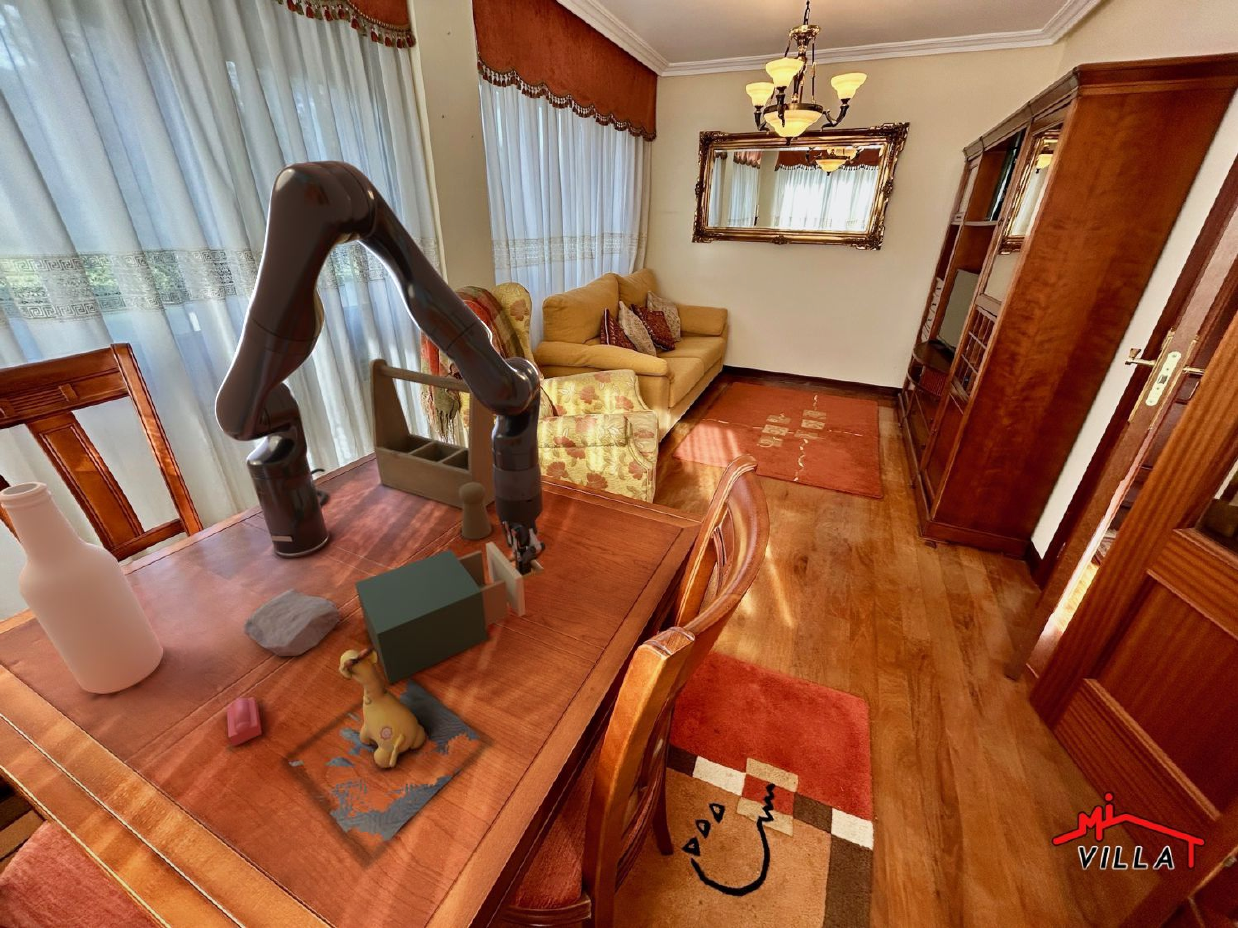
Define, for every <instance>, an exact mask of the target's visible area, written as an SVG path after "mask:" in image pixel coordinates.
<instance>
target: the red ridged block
mask: <svg viewBox="0 0 1238 928" xmlns="http://www.w3.org/2000/svg"><path fill="white" fill-rule="evenodd" d="M226 718H227V732H228V733H227V735H228V739H229V741H230V744H231V745H232V747H237V746H239V745H241V744H243V743H245V742H248V741H249V740H252V739H254V738H256V737H258V736H261V735H262V725H261V718H260V711H259V705H258V702H257V700H256V698H255V696H251V697H249V698H246V697H239V698H237V699H235V700H234V702H233V703H232V705H230V706H227V707H226Z"/></svg>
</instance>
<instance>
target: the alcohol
mask: <svg viewBox="0 0 1238 928" xmlns="http://www.w3.org/2000/svg"><path fill="white" fill-rule="evenodd" d="M52 496H53V495H52V492H51V491H50V490H48V485H47V484H46V483H44V482H40V481H29V482H23V483H18V484H14V485H11V486H8V487H6V488H4V489H2V490H1V491H0V506H1V508H2V509H3V510H5V511H6V513H7V516H8V518H9V520H10V522H11V524H12V527H13V529H14V531H15V534H16V535H17V537H18V539H19V543H20V544H21V546H22V549H23V551H24V553H25V555H26V563H25V564H24V566H23V568H22V570H21V571H20V574H19V575H18V578H17V581H18V582H17V583H18V588H19V593H20V595H21V597H22V598H23V599H24V602H25V603H26V605H27V606H28V608H29V609H30V611H31V612H32V614H33V615H34V617H35V619H36V620H37V621H38V623H39V625H40V626H41V627H42V629H43V631H44V632H45V634H46V635H47V638H49V640H50V641H51V643H52V645H53V646H54V647H55V649H56V652H58V654H59V655H60V657H61V659H62V660H63V662H64V663H65V665H66V666H67V668H68V669H69V671H70V672H71V674H72V676H73V677H74V679H75V680H76V682H77V683H78V685H79V686H80V688H81V689H82V690H83V691H86V692H89V693H94V694H98V695H102V694H103V695H104V694H105V695H106V694H113V693H117V692H121V691H123V690H125V689H128V688H130V687H132V686H134V685H136V684H138V683H140V682H141V681H143V680H145V679H146V678H147V677H148V676H150V675H151V674H152V673H153V672H154V671H156V669H157V668H158V666H159V665H160V663H161V660H162V658H163V655H164V649H163V646H162V644H161V642H160V640H159V639H158V636H157V635H156V632H155V631H154V629H153V627H152V624H151V623H150V620H149V619H148V617H147V615H146V614H145V612H144V609H143V607H142V606H141V604H140V602H139V600H138V598H137V596H136V594H135V592H134V589H133V588H132V586H131V584H130V582H129V581H128V578H127V577H126V575H125V573H124V571H123V569H122V567H121V565H120V562H119V561H118V559H117V558H116V557H115V556H114V555H113V554H112V553H111V552H110V551H109V550H108V549H106V548H104V547H102V546H100V545H98V544H97V545H96V544H94V543H90V542H86V541H85V540H83V539H82V538H81V537H80V536H79V535H78V533H77V531H76V530H75V528H74V527H73V526H72V524H71V523H70V521H69V520H68V519H67V517H66V516H65V514H64V513H63V512H62V511H61V509H60V507H59V506H58V505H57V503H56V502H55V499H53V497H52Z"/></svg>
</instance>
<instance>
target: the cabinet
mask: <svg viewBox="0 0 1238 928" xmlns="http://www.w3.org/2000/svg"><path fill="white" fill-rule="evenodd" d="M457 558H458V557H457V556H456V555H455V553H454V552H453V551H452V549H447V550H444V551H442V552H439V553H436V554H432V555H430V556H427V557H425V558H422V559H419V560H416V561H413V562H410V563H407V564H404V565H402V566H399V567H395V568H393V569H390V570H387V571H385V572H382V573H378V574H376V575H373V576H370V577H367V578H364V579H361V580H358V581H356V582H354V586H355V589H356V593H357V597H358V600H359V601H358V602H359V605H360V608H361V613H362V616H363V620H364V623H365V627H366V632H367V633H368V636H369V638H370V641H371V644H372V646H373V648H374V650H376V651H377V652H378V656H379V661H378V662H379V663H380V666H381V668H382V670H383V673H384V675H385V678H386V681H387V683H388V685H389V686H391V685H393V684H395V683H397V682H400V681H402V680H405V679H406V677H407V678H408V677H410V676H413V675H415V674H417V673H418V672H422V671H423V670H425V669H427V668H430V667H432V666H434V665H436V664H438V663H440V662H443V661H444V660H446V659H447V660H448V658H449V659H450V658H451V657H453V656H455V655H457V654H459V653H461V652H464V651H465V650H467V649H470V648H472V647H474V646H476V645H478V644H481V643H483V642H484V641H487V640H488V632H487V631H488V630H487V626H486V622H485V613H484V605H483V596H482V591H481V589H480V588H479V587H478V585H477V584H476V583H475V581H474V580H473V579H472V577H471V576H470V575H469V573H468V572H467V571H466V569H465V568H464V567H463V565H462V564H461V563H460V561H459V560H458V559H457Z"/></svg>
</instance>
